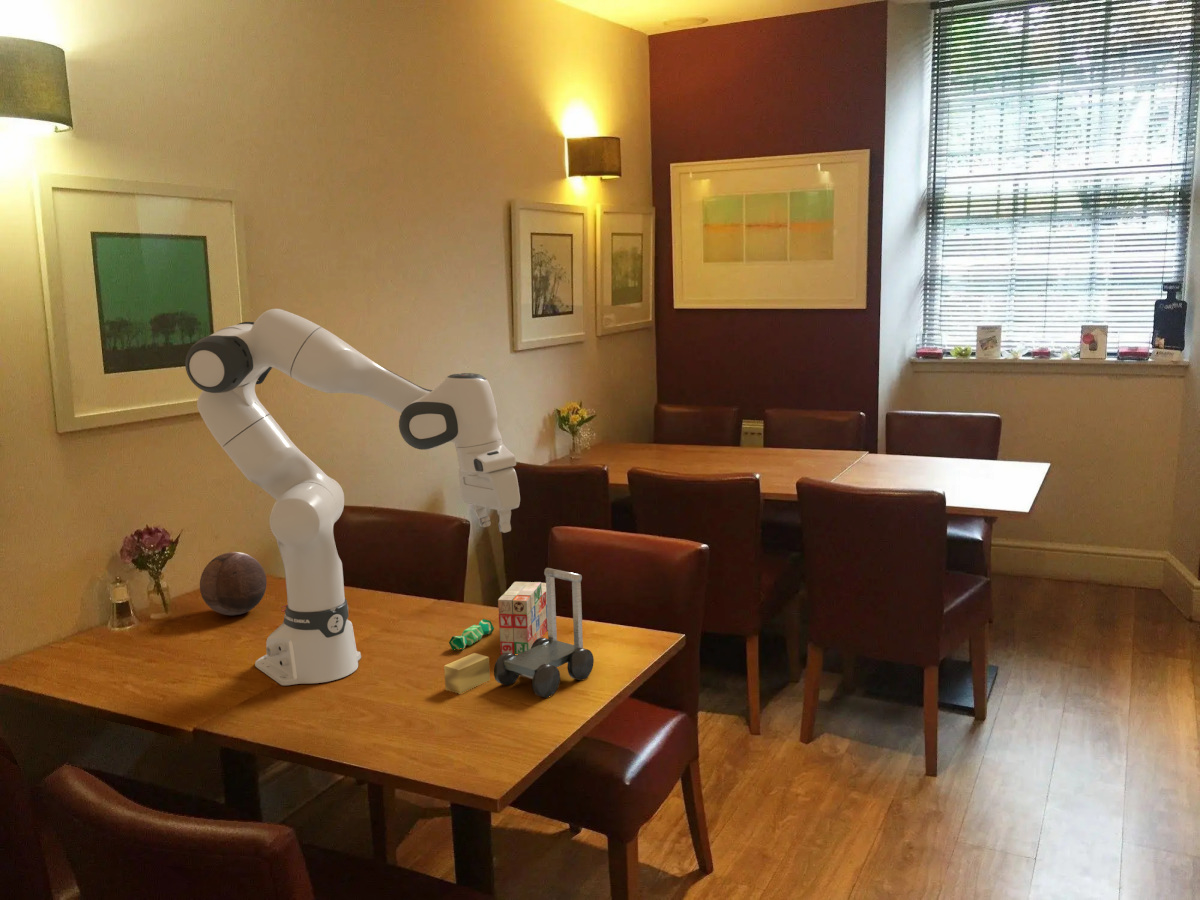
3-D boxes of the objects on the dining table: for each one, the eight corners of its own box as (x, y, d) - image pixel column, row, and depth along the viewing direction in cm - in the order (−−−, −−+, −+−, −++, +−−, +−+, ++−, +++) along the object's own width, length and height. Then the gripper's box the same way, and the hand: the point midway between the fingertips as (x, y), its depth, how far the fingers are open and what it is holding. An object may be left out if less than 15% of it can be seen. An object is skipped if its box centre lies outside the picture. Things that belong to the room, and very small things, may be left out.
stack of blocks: (528, 620, 230) (525, 569, 228) (554, 621, 229) (552, 569, 227) (500, 655, 209) (497, 598, 207) (529, 656, 208) (526, 599, 206)
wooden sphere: (281, 605, 247) (275, 545, 244) (246, 625, 232) (240, 563, 230) (226, 602, 250) (221, 544, 247) (189, 622, 236) (183, 560, 233)
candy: (477, 628, 224) (485, 614, 222) (488, 638, 223) (496, 624, 221) (446, 646, 213) (454, 632, 212) (458, 656, 212) (466, 643, 211)
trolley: (550, 661, 204) (546, 564, 201) (594, 674, 197) (590, 573, 194) (494, 687, 192) (489, 584, 189) (539, 702, 185) (534, 595, 182)
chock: (445, 690, 192) (444, 665, 191) (475, 676, 198) (474, 652, 197) (460, 695, 190) (458, 670, 189) (490, 681, 196) (488, 657, 195)
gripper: (446, 458, 196) (459, 527, 198) (487, 464, 178) (502, 539, 180) (475, 451, 199) (488, 519, 201) (519, 456, 181) (533, 530, 183)
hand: (495, 528), depth 190 cm, fingers open, 8 cm apart
